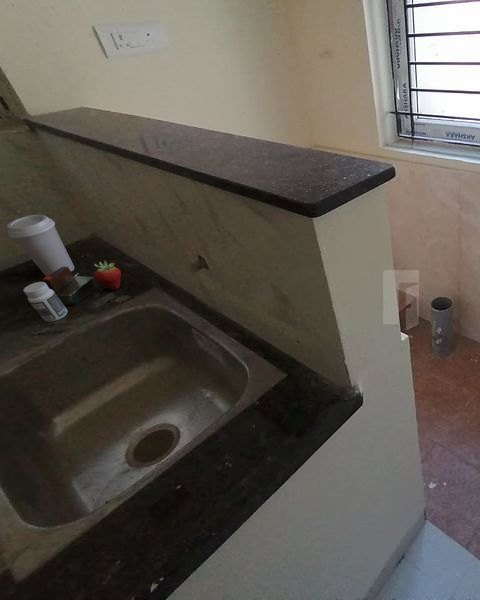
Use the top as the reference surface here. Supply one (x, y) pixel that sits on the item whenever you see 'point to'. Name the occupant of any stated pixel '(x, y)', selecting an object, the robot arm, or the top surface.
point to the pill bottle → (45, 302)
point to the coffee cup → (40, 242)
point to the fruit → (108, 275)
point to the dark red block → (59, 279)
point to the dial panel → (77, 290)
